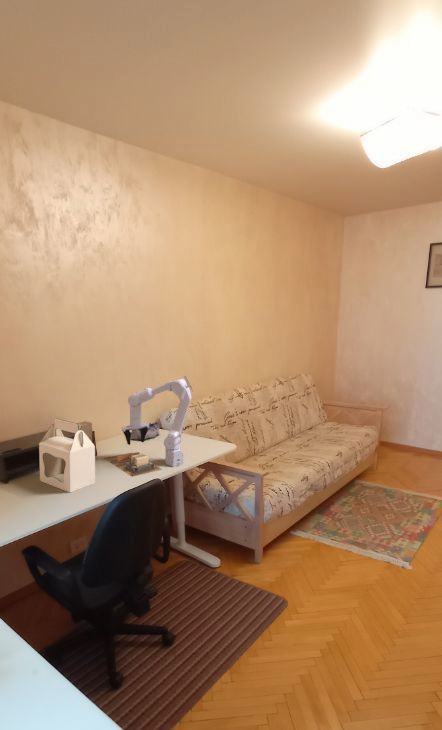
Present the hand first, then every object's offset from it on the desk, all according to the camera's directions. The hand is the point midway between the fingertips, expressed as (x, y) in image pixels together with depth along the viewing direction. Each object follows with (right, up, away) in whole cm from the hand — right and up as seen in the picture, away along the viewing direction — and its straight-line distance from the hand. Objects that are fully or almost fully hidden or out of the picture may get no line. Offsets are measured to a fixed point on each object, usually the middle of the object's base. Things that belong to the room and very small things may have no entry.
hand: (135, 443), depth 215 cm
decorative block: (-27, -10, -3) cm, 29 cm away
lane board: (-1, -10, -6) cm, 12 cm away
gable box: (-25, -12, -28) cm, 40 cm away
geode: (-3, -5, +45) cm, 45 cm away
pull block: (+1, -10, -8) cm, 13 cm away
